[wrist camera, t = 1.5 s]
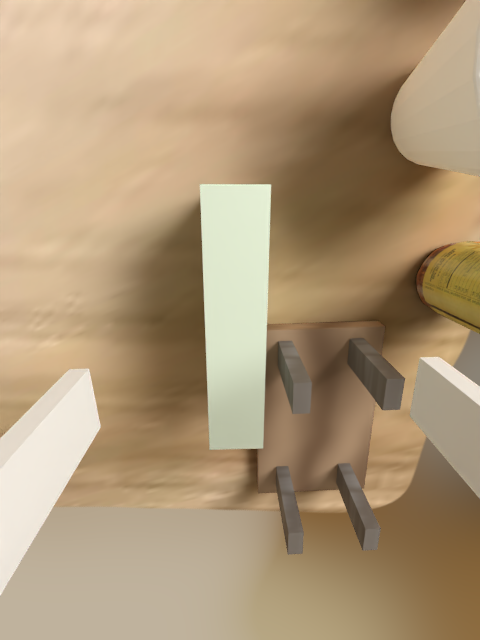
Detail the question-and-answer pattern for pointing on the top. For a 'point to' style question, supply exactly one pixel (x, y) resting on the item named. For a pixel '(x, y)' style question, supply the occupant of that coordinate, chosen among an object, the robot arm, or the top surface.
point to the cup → (444, 100)
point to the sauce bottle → (453, 283)
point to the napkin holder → (323, 417)
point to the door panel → (235, 310)
